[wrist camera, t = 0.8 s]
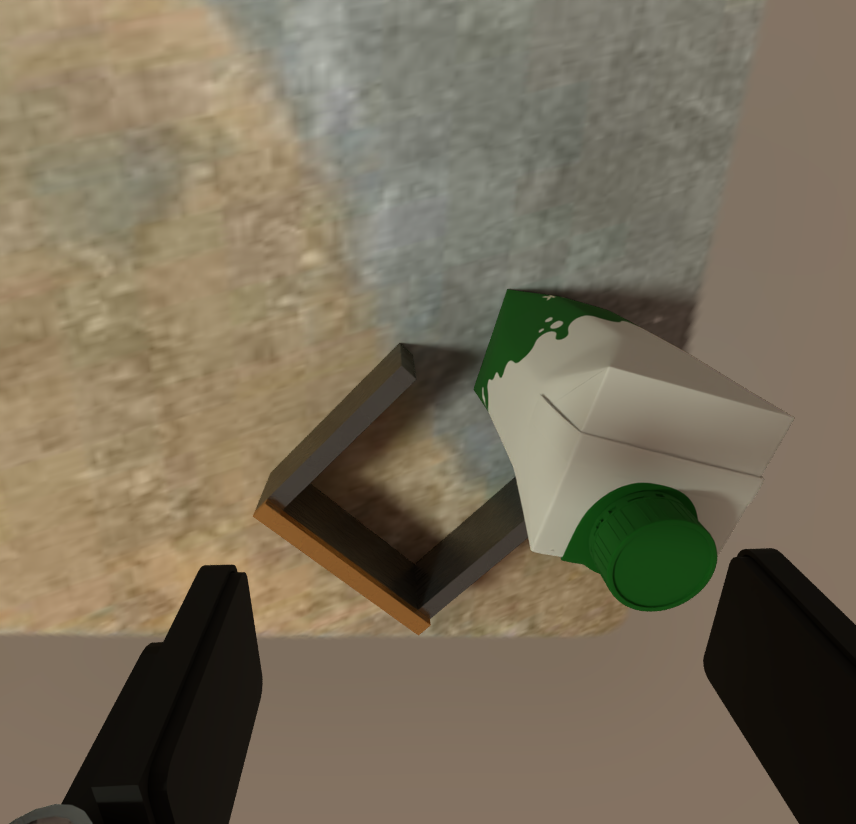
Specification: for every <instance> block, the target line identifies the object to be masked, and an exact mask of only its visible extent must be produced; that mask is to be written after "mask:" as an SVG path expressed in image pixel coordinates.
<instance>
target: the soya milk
mask: <svg viewBox="0 0 856 824" xmlns="http://www.w3.org/2000/svg"><path fill="white" fill-rule="evenodd" d="M474 391H475V392H476V394H477V395H478V397H479V398H480V400H481V401H482V403H483V404H484V406H485V407H486V409H487V410H488V412H489V414H490V416H491V419H492V421H493V423H494V425H495V427H496V430H497V432H498V434H499V436H500V438H501V441H502V443H503V445H504V447H505V450H506V452H507V454H508V456H509V458H510V461H511V463H512V465H513V468H514V472H515V476H516V480H517V485H518V490H519V495H520V499H521V504H522V509H523V514H524V519H525V524H526V529H527V534H528V539H529V543H530V549H531V551H533V552H537V553H541V554H547V555H554V556H559V557H561V560H562V561H567V562H572V563H578V564H583V565H585V566H586V567H588V568H589V569H591V570H593V571H594V572H597V573H599V574H601V576H602V578H603V580H604V581H605V583H606V585H607V587H608V588H609V590H610V591H611V593H612V594H613V596H614V597H615V598H616V599H617V600H618V601H619V602H621V603H622V604H624V605H625V606H627V607H630V608H632V609H635V610H639V611H662V610H667V609H670V608H673V607H676V606H679V605H681V604H683V603H685V602H687V601H688V600H690V599H691V598H693V597H694V596H695V595H697V594H698V593H699V592H700V591H701V590H702V589H703V588H704V587H705V586H706V584H707V583H708V582H709V580H710V579H711V577H712V575H713V573H714V571H715V568H716V564H717V557H718V555H719V554H720V552H721V550H722V549H723V547H724V545H725V544H726V542H727V540H728V538H729V537H730V535H731V533H732V532H733V530H734V528H735V527H736V525H737V523H738V521H739V520H740V518H741V517H742V515H743V513H744V511H745V509H746V508H747V506H748V505H749V504H750V503H751V502H752V501H753V499H754V498H755V496H756V495H757V493H758V491H759V489H760V488H761V486H762V484H763V481H764V478H763V477H762V474H763V473H764V471H765V469H766V468H767V465H768V464H769V462H770V461H771V459H772V457H773V455H774V454H775V452H776V450H777V448H778V446H779V445H780V443H781V441H782V439H783V438H784V436H785V434H786V433H787V431H788V429H789V427H790V426H791V424H792V422H793V420H794V417H793V416H791V415H789V414H788V413H786V412H784V411H783V410H781V409H779V408H777V407H776V406H774V405H772V404H771V403H769V402H767V401H766V400H764V399H762V398H761V397H759V396H757V395H755V394H754V393H752V392H750V391H749V390H747V389H746V388H744V387H742V386H741V385H739V384H737V383H736V382H734V381H732V380H731V379H729V378H728V377H726V376H724V375H723V374H721V373H720V372H718V371H716V370H715V369H713V368H711V367H710V366H708V365H707V364H705V363H703V362H702V361H700V360H698V359H697V358H695V357H693V356H692V355H690V354H689V353H687V352H685V351H683V350H681V349H679V348H678V347H676V346H674V345H672V344H670V343H668V342H667V341H665V340H663V339H661V338H659V337H657V336H656V335H654V334H652V333H650V332H648V331H646V330H645V329H643V328H641V327H639V326H637V325H635V324H633V323H632V322H630V321H628V320H626V319H624V318H622V317H620V316H619V315H617V314H615V313H613V312H611V311H609V310H605V309H602V308H599V307H596V306H592V305H589V304H585V303H582V302H578V301H575V300H571V299H568V298H564V297H559V296H553V295H546V294H539V293H531V292H524V291H516V290H509V289H507V292H506V295H505V298H504V301H503V303H502V306H501V309H500V312H499V315H498V318H497V321H496V324H495V327H494V330H493V333H492V336H491V339H490V342H489V345H488V348H487V351H486V354H485V357H484V360H483V363H482V366H481V369H480V371H479V374H478V377H477V380H476V383H475V386H474Z"/></svg>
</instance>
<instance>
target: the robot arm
mask: <svg viewBox="0 0 856 824" xmlns="http://www.w3.org/2000/svg"><path fill="white" fill-rule="evenodd" d="M703 662H704V670H705V673H706V675H707V678H708V679H709V681H710V683H711V684H712V686H713V688H714V689H715V691H716V692H717V694H718V695H719V697H720V699H721V700H722V702H723V703H724V705H725V707H726V708H727V710H728V711H729V713H730V715H731V716H732V718H733V719H734V721H735V723H736V724H737V726H738V727H739V729H740V730H741V732H742V734H743V735H744V737H745V738H746V740H747V741H748V743H749V745H750V746H751V748H752V750H753V751H754V753H755V754H756V756H757V757H758V759H759V761H760V762H761V764H762V765H763V767H764V769H765V770H766V772H767V773H768V775H769V777H770V778H771V780H772V781H773V783H774V785H775V786H776V788H777V789H778V791H779V793H780V794H781V796H782V797H783V799H784V800H785V802H786V804H787V805H788V807H789V808H790V810H791V811H792V813H793V815H794V816H795V818H796V819H797V821H798V823H799V824H856V625H855V624H854V623H853V622H852V621H851V620H850V619H849V618H848V617H847V616H846V615H845V614H844V613H843V612H842V611H841V610H840V609H839V608H838V607H836V606H835V605H834V604H833V603H832V602H831V601H830V600H829V599H828V598H827V597H826V596H825V595H824V594H823V593H822V592H821V591H820V590H819V589H818V588H817V587H816V586H815V585H814V584H812V582H811V581H810V580H809V579H808V578H807V577H805V576H804V575H803V574H802V573H801V572H800V571H799V570H798V569H797V568H796V567H795V566H794V565H793V564H792V563H791V562H790V561H789V560H788V559H787V558H786V557H784V555H783V554H782V553H780V552H779V551H778V550H776V549H772V548H769V549H768V548H766V549H744V550H741V551H740V552H739V553H738V555H737V557H735V558H733V559H732V560H731V562H730V564H729V568H728V571H727V575H726V579H725V583H724V586H723V589H722V593H721V597H720V600H719V604H718V607H717V611H716V615H715V618H714V622H713V626H712V629H711V633H710V636H709V640H708V644H707V647H706V651H705V655H704V659H703ZM261 694H262V671H261V665H260V658H259V651H258V645H257V638H256V631H255V625H254V618H253V612H252V605H251V598H250V592H249V585H248V579H247V575H246V573H245V572H237V568H236V566H235V565H204V566H202V567H201V568H200V570H199V571H198V573H197V575H196V577H195V579H194V581H193V583H192V585H191V587H190V589H189V591H188V593H187V595H186V597H185V599H184V601H183V603H182V605H181V607H180V609H179V611H178V613H177V615H176V617H175V619H174V621H173V624H172V626H171V628H170V630H169V632H168V634H167V636H166V638H165V640H164V642H158V643H150V644H149V645H148V646H146V647H145V649H144V650H143V652H142V653H141V655H140V657H139V659H138V661H137V663H136V665H135V666H134V668H133V670H132V672H131V674H130V676H129V677H128V679H127V681H126V683H125V685H124V687H123V689H122V691H121V693H120V694H119V696H118V698H117V700H116V702H115V704H114V706H113V708H112V709H111V711H110V713H109V715H108V717H107V719H106V721H105V723H104V725H103V726H102V729H101V730H100V732H99V734H98V736H97V738H96V740H95V742H94V743H93V745H92V747H91V749H90V751H89V753H88V755H87V757H86V758H85V760H84V762H83V764H82V766H81V768H80V770H79V772H78V773H77V775H76V777H75V779H74V781H73V783H72V785H71V787H70V789H69V791H68V792H67V794H66V796H65V798H64V800H63V802H62V804H61V805H60V804H54V805H50V806H46V807H43V808H39V809H35V810H33V811H31V812H29V813H27V814H25V815H23V816H21V817H19V818H17V819H15V820H14V821H12V822H11V823H9V824H229V820H230V816H231V812H232V809H233V805H234V801H235V797H236V793H237V789H238V785H239V781H240V777H241V773H242V769H243V765H244V762H245V758H246V753H247V750H248V746H249V742H250V738H251V734H252V730H253V726H254V722H255V719H256V714H257V711H258V707H259V703H260V699H261Z"/></svg>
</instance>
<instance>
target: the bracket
mask: <svg viewBox="0 0 856 824" xmlns="http://www.w3.org/2000/svg"><path fill="white" fill-rule="evenodd" d="M415 380H416V374H415V367H414V361H413V355H412V354H411V353H410V352H409V351H408V350H407V349H406V348H405V347H403V346H402V345H401V344H400V343H399V344H398V345H397V346H396V347H395V348H394V349H393V350H392V351H391V352H390V353H389V354H388V355H387V356H386V357H385V358H384V359H383V360H382V361H381V362H380V363H379V364H378V365H377V366H376V367H375V368H374V369H373V370H372V371H371V372H370V373H369V374H368V375H367V376H366V377H365V378H364V379H363V380H362V381H361V382H360V383H359V384H358V385H357V386H356V387H355V388H354V389H353V390H352V391H351V392H350V393H349V394H348V395H347V396H346V397H345V398H344V399H343V400H342V402H341V403H340V404H339V405H338V406H337V407H336V408H335V409H334V410H333V411H332V412H331V413H330V414H329V415H328V416H327V417H326V418H325V419H324V420H323V421H322V422H321V423H320V424H319V425H318V426H317V427H316V428H315V429H314V430H313V431H312V432H311V433H310V434H309V435H308V436H307V437H306V438H305V439H304V440H303V441H302V442H301V443H300V444H299V445H298V446H297V447H296V448H295V449H294V450H293V451H292V452H291V453H290V454H289V455H288V456H287V457H286V458H285V459H284V460H283V461H282V462H281V463H280V464H279V465H278V466H277V467H276V468H275V469H274V470H273V471H272V472H271V473H270V476H269V478H268V481H267V483H266V485H265V488H264V490H263V493H262V495H261V498H260V500H259V502H258V505H257V507H256V510H255V512H254V515H253V517H254V518H256V519H257V520H259V521H260V522H261V523H263V524H264V525H266V526H267V527H268V528H270V529H271V530H273V531H274V532H275V533H277V534H278V535H280V536H281V537H282V538H284V539H285V540H286V541H288V542H289V543H291V544H292V545H293V546H295V547H296V548H298V549H299V550H300V551H302V552H303V553H305V554H306V555H307V556H309V557H310V558H312V559H313V560H314V561H316V562H317V563H318V564H320V565H321V566H323V567H324V568H325V569H327V570H328V571H330V572H331V573H332V574H334V575H335V576H337V577H338V578H339V579H341V580H342V581H344V582H345V583H346V584H348V585H349V586H350V587H352V588H353V589H355V590H356V591H357V592H359V593H360V594H362V595H363V596H364V597H366V598H367V599H369V600H370V601H371V602H373V603H374V604H376V605H377V606H378V607H380V608H381V609H382V610H384V611H385V612H387V613H388V614H389V615H391V616H392V617H394V618H395V619H396V620H398V621H399V622H401V623H402V624H403V625H405V626H406V627H408V628H409V629H410V630H412V631H413V632H414V633H416V634H417V635H419V634H421V633H422V632H423V631H424V630H426V629H427V628H428V627H429V626H430V625H431V624H430V619H431V618H432V617H433V616H434V615H435V614H437V613H438V612H439V611H440V610H441V609H443V608H444V607H445V606H446V605H447V604H449V603H450V602H451V601H452V600H453V599H455V598H456V597H457V596H458V595H459V594H461V593H462V592H463V591H464V590H465V589H467V588H468V587H469V586H470V585H472V584H473V583H474V582H475V581H476V580H478V579H479V578H480V577H481V576H482V575H484V574H485V573H486V572H487V571H488V570H490V569H491V568H492V567H493V566H494V565H496V564H497V563H498V562H499V561H500V560H502V559H503V558H504V557H505V556H506V555H508V554H509V553H510V552H511V551H512V550H514V549H515V548H516V547H517V546H518V545H520V544H521V543H522V542H523V541H524V540H526V539H527V538H528V534H527V529H526V524H525V519H524V514H523V509H522V504H521V499H520V495H519V490H518V485H517V480H516V477H515V478H514V479H512V480H511V481H510V482H509V483H508V484H507V485H505V486H504V487H503V488H502V489H501V490H500V491H499V492H497V493H496V494H495V495H494V496H493V497H492V498H491V499H489V500H488V501H487V502H486V503H485V504H484V505H483V506H481V507H480V508H479V509H478V510H477V511H476V512H474V513H473V514H472V515H471V516H470V517H469V518H468V519H466V520H465V521H464V522H463V523H462V524H461V525H460V526H458V527H457V528H456V529H455V530H454V531H453V532H451V533H450V534H449V535H448V536H447V537H446V538H445V539H443V540H442V541H441V542H440V543H439V544H438V545H437V546H435V547H434V548H433V549H432V550H431V551H430V552H429V553H427V554H426V555H425V556H424V557H423V558H422V559H420V560H419V561H418V562H417V563H416V564H415V565H414V564H413V563H412V562H411V561H409V560H408V559H407V558H405V557H404V556H403V555H401V554H400V553H399V552H398V551H396V550H395V549H394V548H392V547H391V546H390V545H389V544H387V543H386V542H385V541H383V540H382V539H381V538H380V537H378V536H377V535H376V534H374V533H373V532H372V531H370V530H369V529H368V528H367V527H365V526H364V525H363V524H361V523H360V522H359V521H358V520H356V519H355V518H354V517H352V516H351V515H350V514H348V513H347V512H346V511H345V510H343V509H342V508H341V507H339V506H338V505H337V504H336V503H334V502H333V501H332V500H330V499H329V498H328V497H326V496H325V495H324V494H323V493H321V492H320V491H319V490H317V489H316V488H315V487H314V486H312V485H311V484H310V483H311V482H312V481H313V480H314V479H315V478H316V477H317V476H318V475H319V474H320V473H321V472H322V471H323V470H324V469H325V468H326V467H327V466H328V465H329V464H330V463H331V462H332V461H333V460H334V459H335V458H336V457H337V456H338V455H339V454H340V453H341V452H342V451H343V450H344V449H346V448H347V447H348V446H349V445H350V444H351V443H352V442H353V441H354V440H355V439H356V438H357V437H358V436H359V435H360V434H361V433H362V432H363V431H364V430H365V429H366V428H367V427H368V426H369V425H370V424H371V423H372V422H373V421H374V420H375V419H376V418H377V417H378V416H379V415H380V414H381V413H382V412H383V411H384V410H385V409H386V408H388V407H389V406H390V405H391V404H392V403H393V402H394V401H395V400H396V399H397V398H398V397H399V396H400V395H401V394H402V393H403V392H404V391H405V390H406V389H407V388H408V387H409V386H410V385H411V384H412V383H413V382H414V381H415Z"/></svg>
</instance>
